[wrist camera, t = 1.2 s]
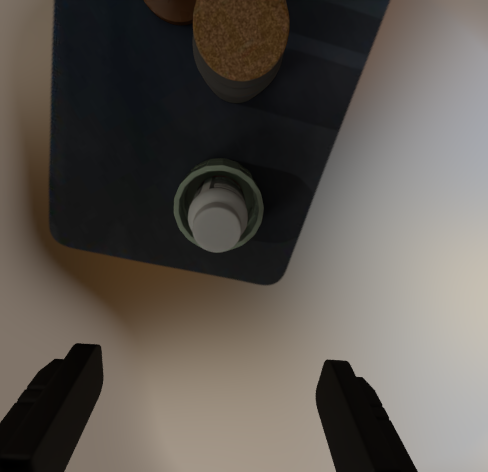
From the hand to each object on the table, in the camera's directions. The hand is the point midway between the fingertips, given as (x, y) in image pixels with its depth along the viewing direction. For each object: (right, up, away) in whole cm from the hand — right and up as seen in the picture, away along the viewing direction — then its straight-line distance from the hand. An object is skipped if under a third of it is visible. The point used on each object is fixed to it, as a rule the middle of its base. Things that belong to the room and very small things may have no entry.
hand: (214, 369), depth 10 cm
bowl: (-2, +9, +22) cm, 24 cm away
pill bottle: (-2, +9, +22) cm, 24 cm away
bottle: (0, +21, +18) cm, 27 cm away
